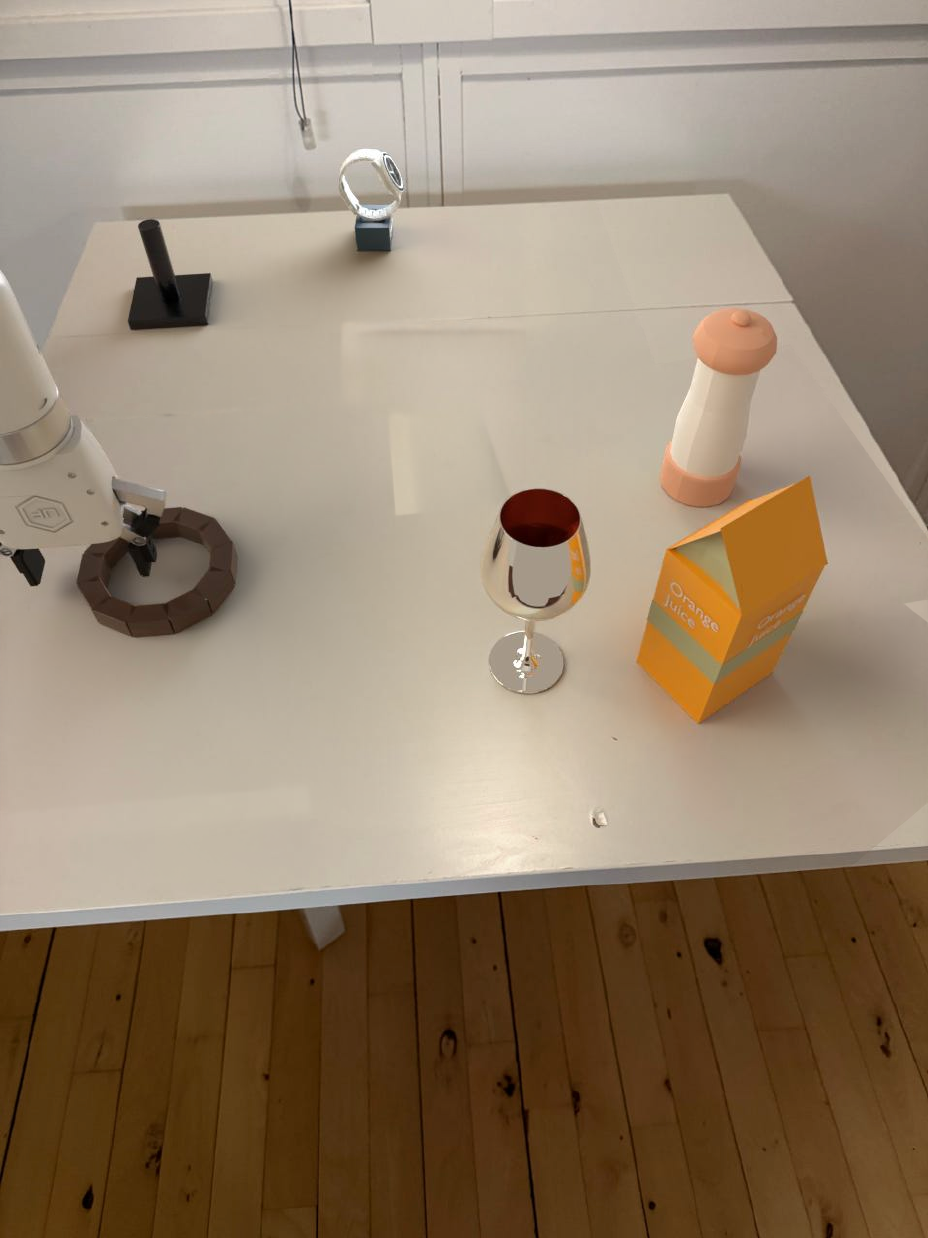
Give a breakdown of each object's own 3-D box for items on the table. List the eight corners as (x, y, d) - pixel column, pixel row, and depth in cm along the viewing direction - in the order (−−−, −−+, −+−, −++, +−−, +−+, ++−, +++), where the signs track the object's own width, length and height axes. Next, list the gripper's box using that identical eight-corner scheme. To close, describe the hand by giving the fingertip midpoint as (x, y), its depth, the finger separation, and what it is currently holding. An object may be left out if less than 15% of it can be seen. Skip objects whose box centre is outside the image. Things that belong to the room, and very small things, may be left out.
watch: (406, 250, 115) (401, 164, 106) (343, 250, 115) (333, 164, 106) (408, 227, 119) (403, 141, 110) (347, 227, 119) (337, 141, 110)
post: (130, 329, 105) (101, 248, 97) (139, 285, 111) (113, 205, 103) (207, 324, 106) (186, 243, 98) (213, 281, 111) (192, 201, 103)
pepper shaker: (716, 451, 92) (765, 283, 77) (744, 500, 88) (802, 333, 73) (649, 461, 92) (685, 294, 76) (674, 512, 87) (718, 345, 72)
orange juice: (634, 661, 77) (678, 494, 61) (709, 613, 80) (769, 443, 64) (699, 726, 73) (763, 566, 57) (775, 673, 76) (857, 508, 60)
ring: (75, 642, 78) (66, 628, 77) (97, 527, 86) (90, 513, 85) (232, 629, 79) (227, 615, 77) (240, 517, 87) (235, 502, 86)
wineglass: (561, 618, 80) (582, 469, 65) (584, 696, 75) (612, 553, 60) (470, 631, 79) (471, 483, 64) (488, 710, 74) (493, 569, 60)
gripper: (-118, 465, 65) (-14, 610, 78) (126, 446, 65) (186, 593, 79) (-90, 398, 69) (4, 546, 83) (138, 381, 70) (193, 531, 84)
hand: (93, 569), depth 81 cm, fingers open, 9 cm apart
